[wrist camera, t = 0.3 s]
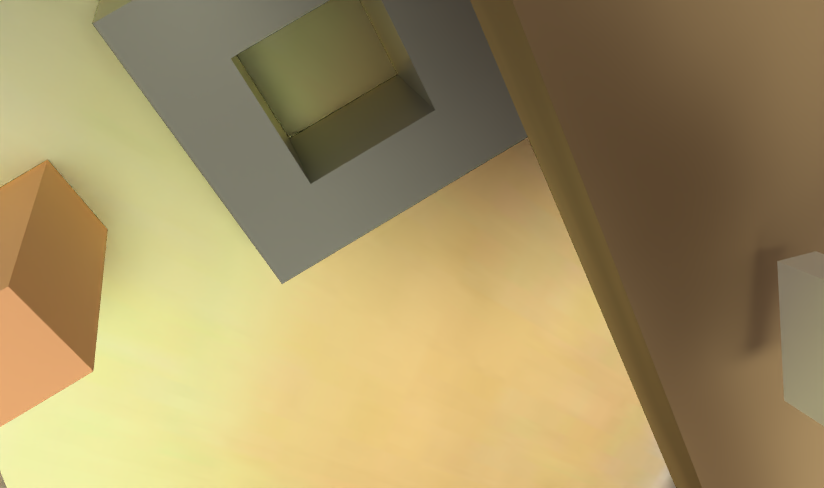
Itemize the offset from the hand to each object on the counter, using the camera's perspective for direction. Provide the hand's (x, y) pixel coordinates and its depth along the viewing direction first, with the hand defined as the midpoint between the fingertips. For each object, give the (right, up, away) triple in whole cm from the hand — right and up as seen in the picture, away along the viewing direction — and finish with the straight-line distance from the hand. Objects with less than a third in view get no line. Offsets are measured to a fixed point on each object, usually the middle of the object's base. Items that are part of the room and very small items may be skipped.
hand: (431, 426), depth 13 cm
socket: (-5, +12, +24) cm, 28 cm away
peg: (-18, +4, +24) cm, 31 cm away
